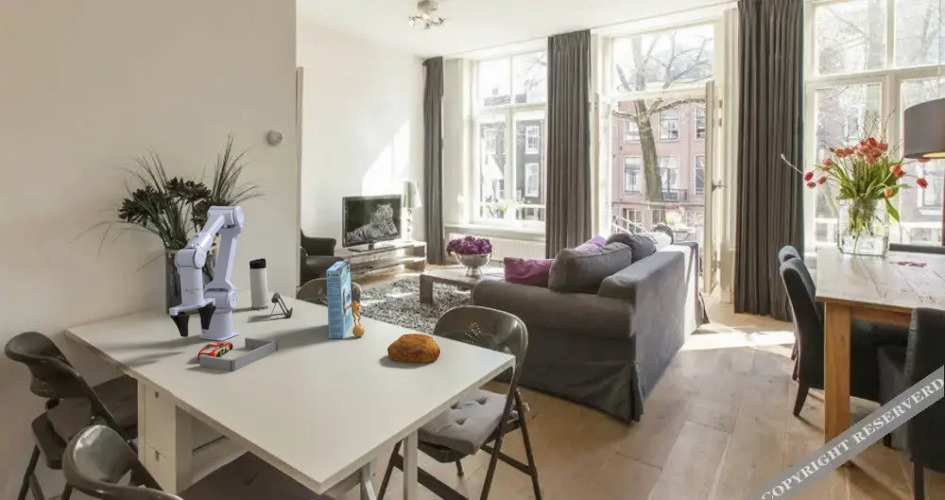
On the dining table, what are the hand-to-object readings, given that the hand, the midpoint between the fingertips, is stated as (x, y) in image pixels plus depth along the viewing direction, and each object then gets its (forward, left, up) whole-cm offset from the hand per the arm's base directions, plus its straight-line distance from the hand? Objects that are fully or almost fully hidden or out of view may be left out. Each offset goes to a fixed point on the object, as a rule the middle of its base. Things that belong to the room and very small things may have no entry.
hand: (195, 332), depth 152 cm
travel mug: (-20, +49, -6) cm, 53 cm away
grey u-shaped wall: (+16, 0, -6) cm, 18 cm away
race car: (+7, 0, -6) cm, 10 cm away
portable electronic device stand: (-4, +42, -6) cm, 43 cm away
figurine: (+37, +30, -6) cm, 48 cm away
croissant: (+64, +19, -6) cm, 67 cm away
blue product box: (+28, +34, -6) cm, 45 cm away
